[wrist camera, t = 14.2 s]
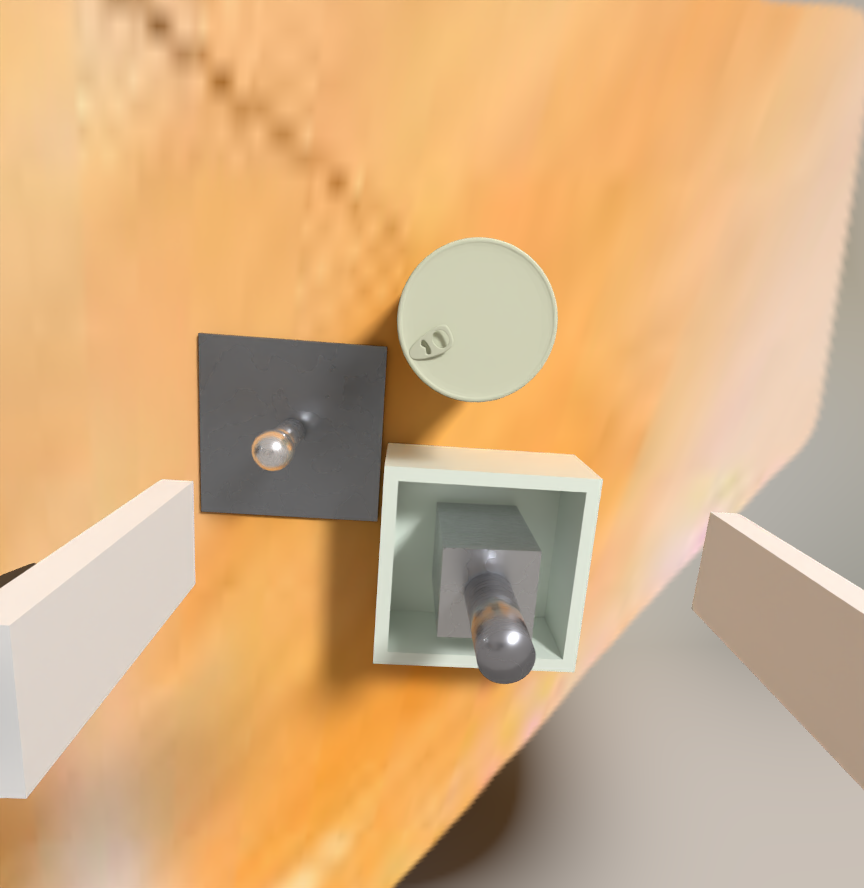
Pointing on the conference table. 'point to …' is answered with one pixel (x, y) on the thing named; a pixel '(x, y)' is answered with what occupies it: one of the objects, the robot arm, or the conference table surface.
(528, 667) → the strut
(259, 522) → the conference table surface
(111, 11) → the conference table surface
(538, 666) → the bin
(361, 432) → the stud plate
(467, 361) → the can
